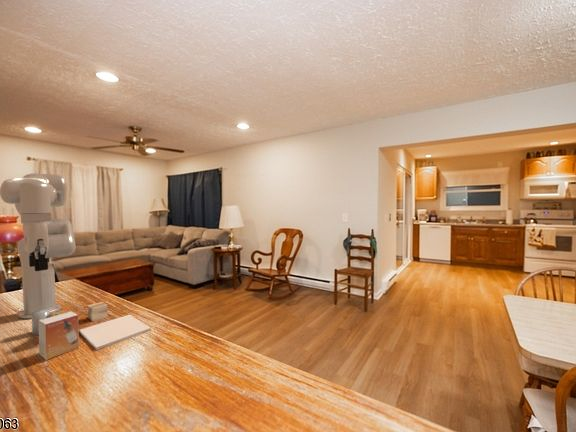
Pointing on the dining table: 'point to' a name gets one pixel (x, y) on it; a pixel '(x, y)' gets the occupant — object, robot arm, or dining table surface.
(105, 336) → the mat
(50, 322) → the small box
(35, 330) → the light grey domed piece
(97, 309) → the birch block
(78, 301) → the dining table surface
